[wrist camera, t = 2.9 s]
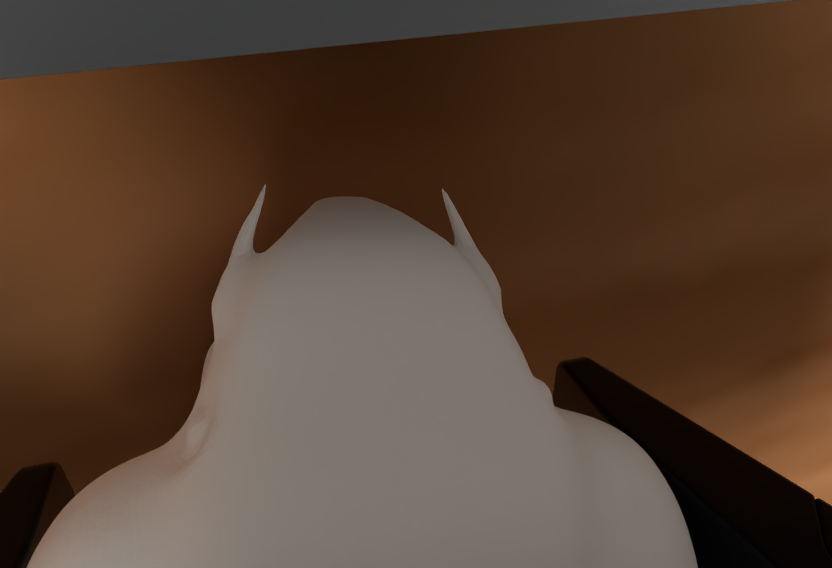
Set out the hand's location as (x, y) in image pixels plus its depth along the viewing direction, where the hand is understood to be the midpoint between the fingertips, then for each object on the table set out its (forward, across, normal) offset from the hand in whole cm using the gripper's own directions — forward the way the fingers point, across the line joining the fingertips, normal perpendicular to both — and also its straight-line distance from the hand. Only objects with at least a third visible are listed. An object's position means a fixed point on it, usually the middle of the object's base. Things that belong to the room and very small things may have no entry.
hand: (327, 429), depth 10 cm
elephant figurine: (+1, 0, 0) cm, 1 cm away
